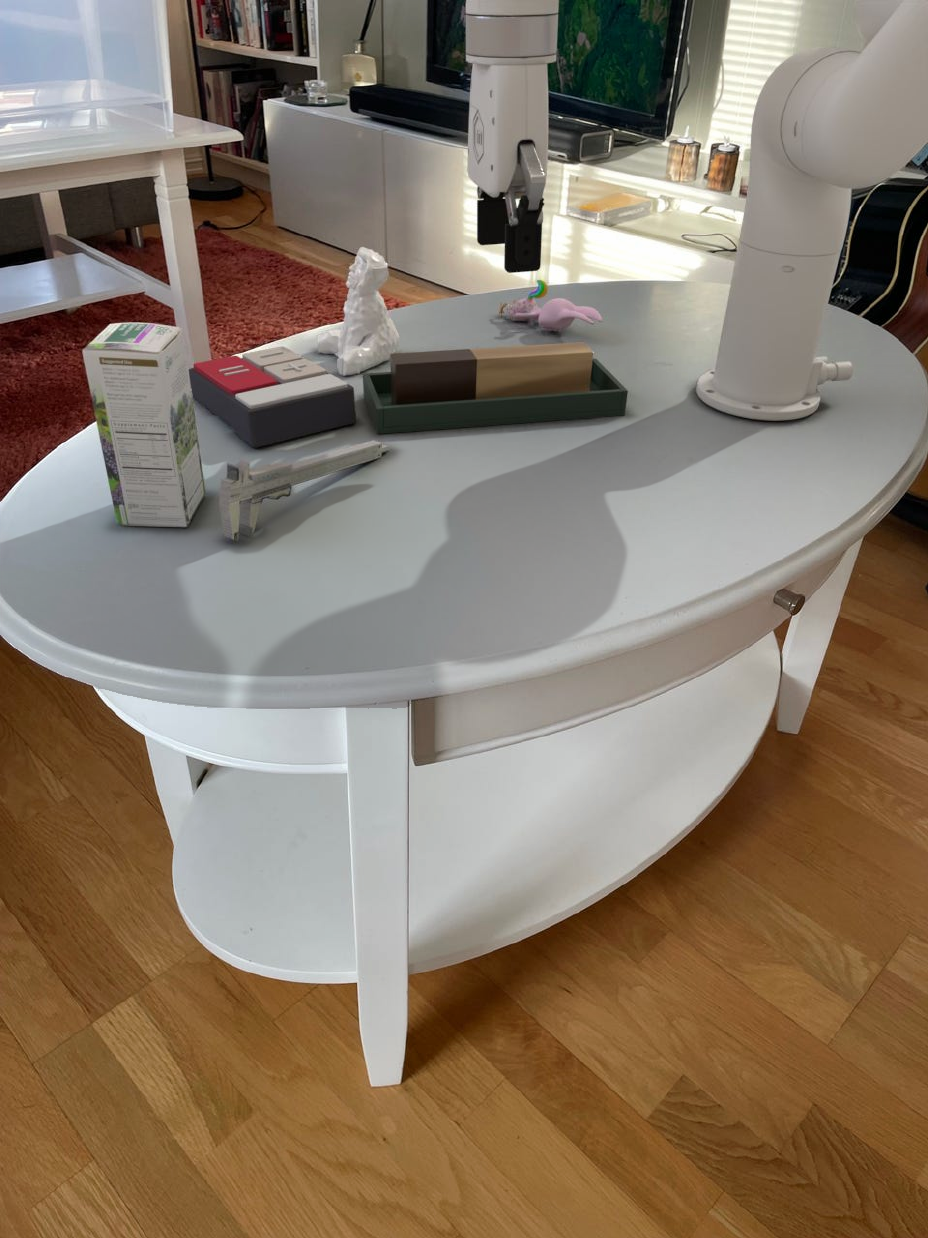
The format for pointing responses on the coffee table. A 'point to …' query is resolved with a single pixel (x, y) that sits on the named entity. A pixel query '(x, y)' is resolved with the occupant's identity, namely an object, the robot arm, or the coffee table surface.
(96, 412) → the syrup box
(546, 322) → the rabbit figure
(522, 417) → the tray
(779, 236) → the robot arm
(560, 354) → the two-tone wooden beam
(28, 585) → the coffee table surface
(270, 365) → the calculator
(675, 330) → the coffee table surface
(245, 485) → the caliper
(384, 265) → the sitting furry creature
